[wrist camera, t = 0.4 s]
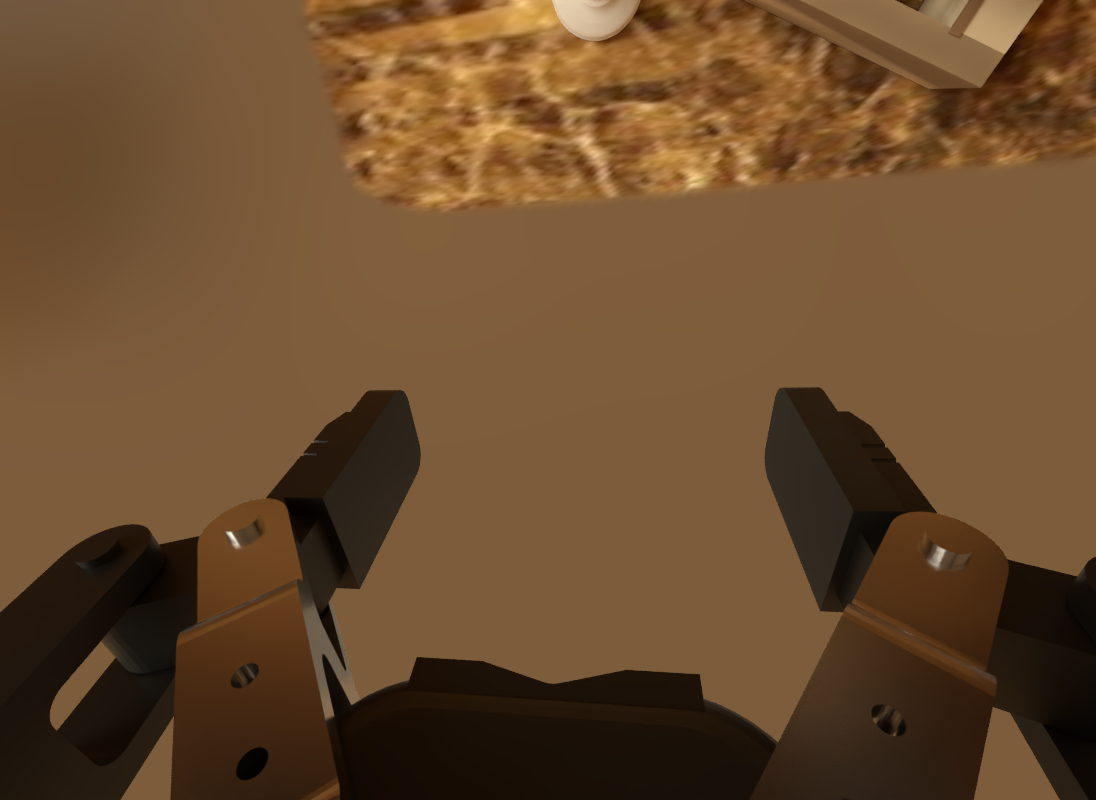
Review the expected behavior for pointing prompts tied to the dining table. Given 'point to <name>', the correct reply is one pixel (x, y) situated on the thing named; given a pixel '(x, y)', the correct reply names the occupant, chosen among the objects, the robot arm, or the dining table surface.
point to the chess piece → (595, 17)
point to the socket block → (916, 34)
